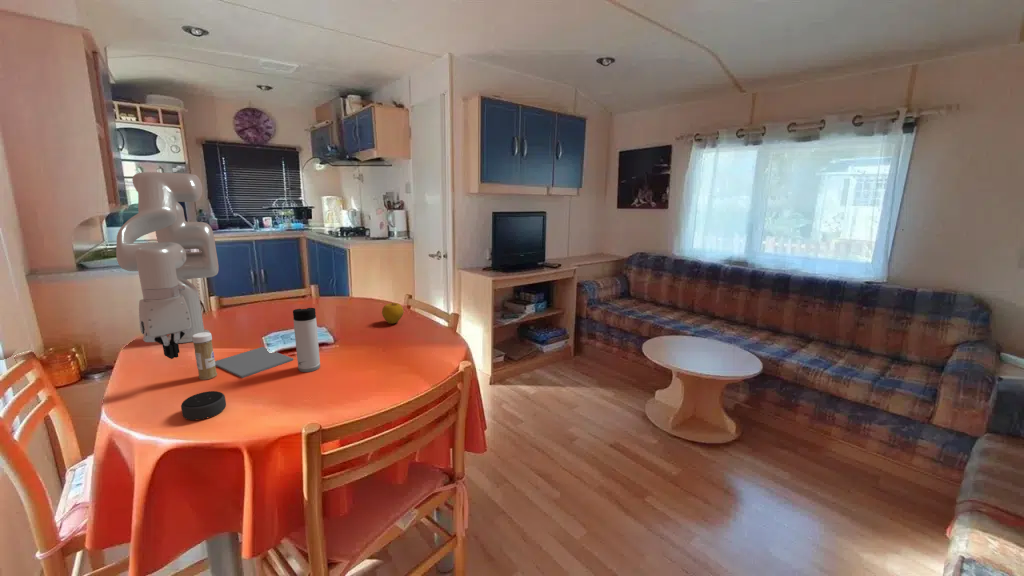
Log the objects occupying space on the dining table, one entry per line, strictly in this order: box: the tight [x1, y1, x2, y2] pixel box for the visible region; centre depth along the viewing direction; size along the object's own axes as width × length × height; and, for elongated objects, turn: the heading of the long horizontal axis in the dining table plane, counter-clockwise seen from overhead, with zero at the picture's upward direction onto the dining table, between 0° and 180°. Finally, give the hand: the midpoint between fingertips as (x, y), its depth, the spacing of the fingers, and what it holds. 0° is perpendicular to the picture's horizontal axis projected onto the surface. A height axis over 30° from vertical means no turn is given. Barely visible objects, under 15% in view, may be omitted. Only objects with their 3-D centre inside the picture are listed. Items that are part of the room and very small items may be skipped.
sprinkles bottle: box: [192, 331, 218, 381], centre depth 121 cm, size 5×5×13 cm
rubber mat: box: [215, 346, 294, 379], centre depth 133 cm, size 18×16×1 cm
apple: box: [381, 302, 404, 325], centre depth 174 cm, size 9×9×9 cm
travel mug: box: [292, 307, 321, 373], centre depth 128 cm, size 6×7×20 cm
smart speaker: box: [180, 390, 227, 421], centre depth 103 cm, size 9×9×4 cm
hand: (172, 356), depth 114 cm, fingers closed
